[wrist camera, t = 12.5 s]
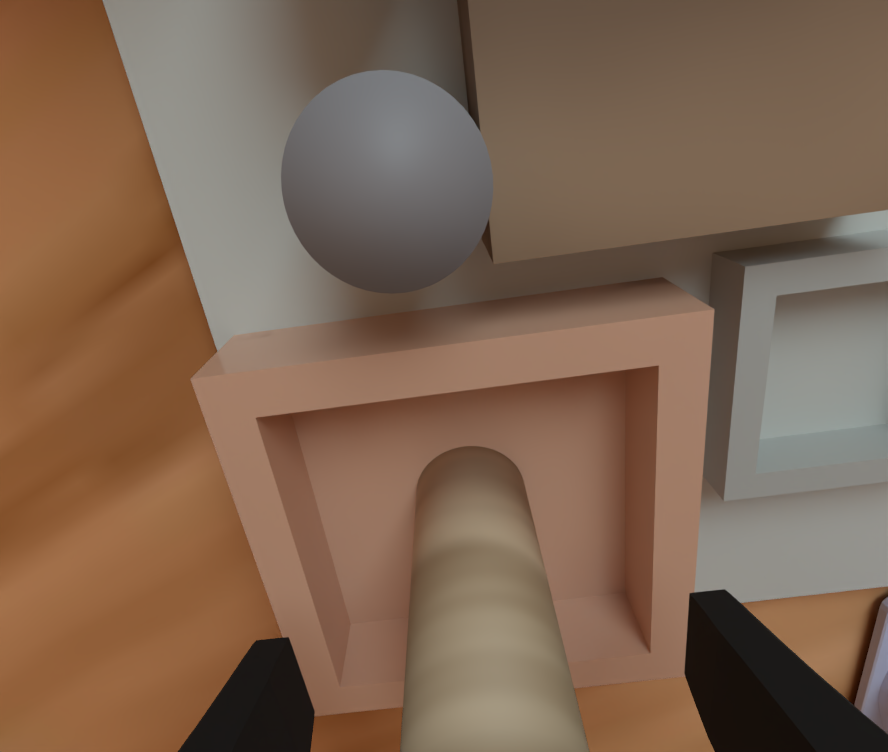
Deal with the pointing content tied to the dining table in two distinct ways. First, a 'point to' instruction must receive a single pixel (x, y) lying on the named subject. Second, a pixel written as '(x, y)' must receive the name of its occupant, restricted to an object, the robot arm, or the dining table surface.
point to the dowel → (482, 618)
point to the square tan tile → (673, 117)
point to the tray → (472, 424)
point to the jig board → (477, 279)
